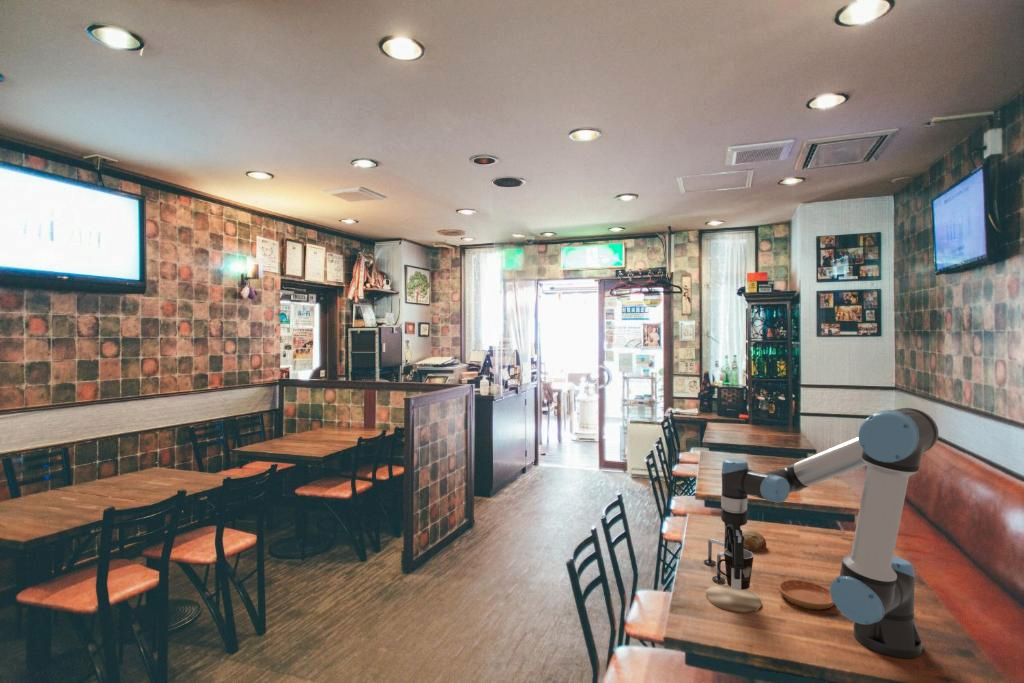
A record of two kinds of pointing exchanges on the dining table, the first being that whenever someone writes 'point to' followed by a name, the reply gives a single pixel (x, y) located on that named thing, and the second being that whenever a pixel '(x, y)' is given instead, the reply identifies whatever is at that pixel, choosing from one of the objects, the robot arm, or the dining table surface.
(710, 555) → the bent wire
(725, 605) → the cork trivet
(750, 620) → the dining table surface
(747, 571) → the coffee mug
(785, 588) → the saucer
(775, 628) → the dining table surface
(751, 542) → the bread roll
